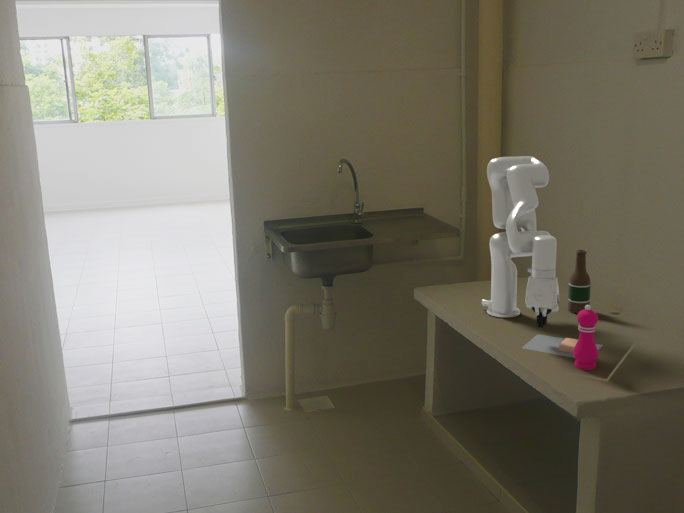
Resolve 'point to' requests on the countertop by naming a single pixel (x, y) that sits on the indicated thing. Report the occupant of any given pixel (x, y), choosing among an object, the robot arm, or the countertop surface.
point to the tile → (568, 345)
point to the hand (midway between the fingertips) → (541, 326)
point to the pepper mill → (586, 340)
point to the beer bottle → (579, 285)
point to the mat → (549, 345)
